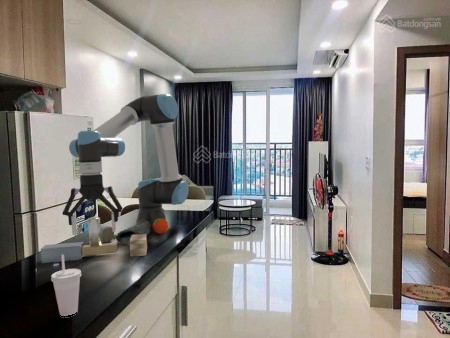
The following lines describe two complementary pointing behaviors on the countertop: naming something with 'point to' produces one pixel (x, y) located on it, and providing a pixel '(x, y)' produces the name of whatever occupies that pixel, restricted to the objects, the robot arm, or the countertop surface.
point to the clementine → (160, 226)
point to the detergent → (133, 232)
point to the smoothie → (67, 289)
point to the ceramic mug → (106, 233)
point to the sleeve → (61, 252)
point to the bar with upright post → (97, 240)
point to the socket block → (138, 245)
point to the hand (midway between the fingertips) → (94, 232)
